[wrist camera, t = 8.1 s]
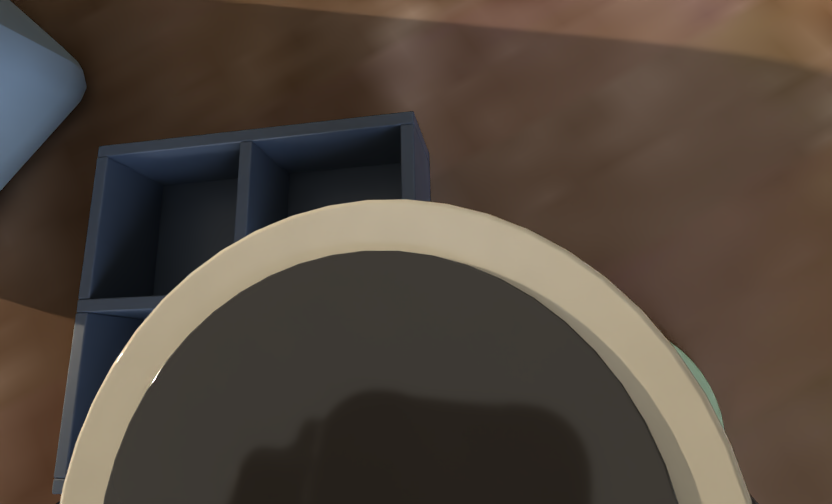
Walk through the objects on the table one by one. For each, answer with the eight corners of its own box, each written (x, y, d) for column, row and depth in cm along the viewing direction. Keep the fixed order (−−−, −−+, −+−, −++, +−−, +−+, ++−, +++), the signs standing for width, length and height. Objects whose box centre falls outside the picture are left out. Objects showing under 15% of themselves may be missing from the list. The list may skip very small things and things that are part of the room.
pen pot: (496, 554, 14) (452, 1369, 3) (348, 428, 16) (-82, 593, 4) (604, 391, 15) (966, 481, 3) (450, 284, 16) (312, 82, 5)
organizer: (438, 476, 22) (422, 504, 17) (130, 471, 24) (50, 494, 20) (429, 152, 25) (413, 110, 21) (160, 178, 28) (98, 145, 23)
